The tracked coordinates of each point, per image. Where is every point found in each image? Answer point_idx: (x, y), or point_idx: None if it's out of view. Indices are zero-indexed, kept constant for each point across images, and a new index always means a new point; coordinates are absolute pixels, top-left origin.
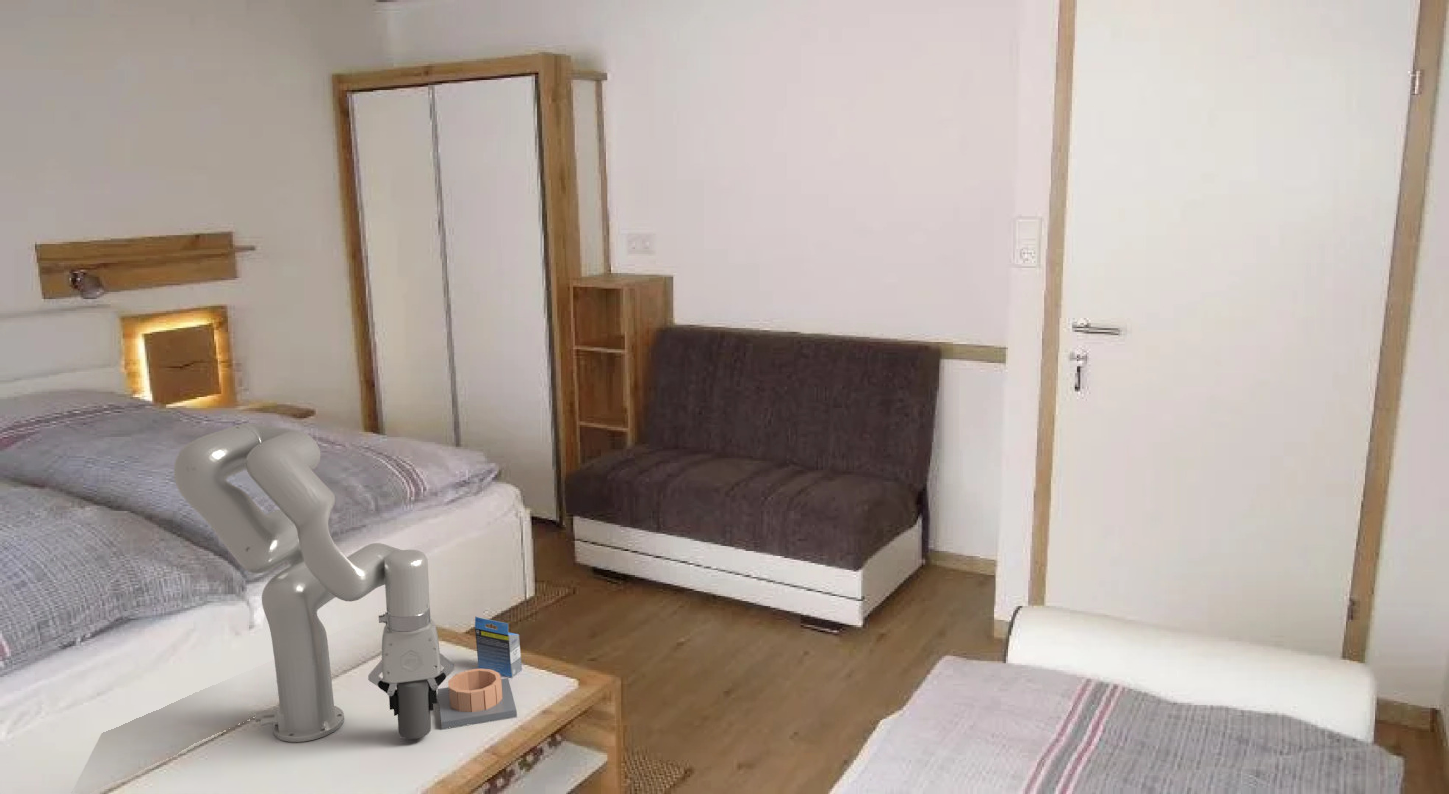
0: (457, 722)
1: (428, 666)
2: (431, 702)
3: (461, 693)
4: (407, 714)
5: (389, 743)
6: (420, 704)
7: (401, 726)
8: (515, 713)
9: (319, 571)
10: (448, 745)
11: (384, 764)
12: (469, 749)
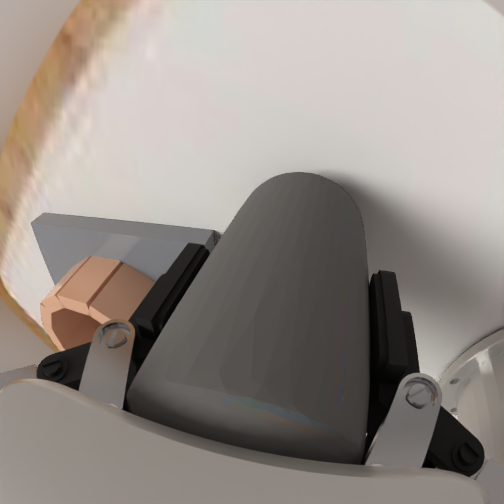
0: (159, 233)
1: (7, 493)
2: (177, 270)
3: (115, 318)
4: (329, 238)
5: (393, 222)
6: (234, 259)
7: (358, 227)
8: (38, 218)
9: None
10: (191, 119)
11: (435, 86)
12: (126, 73)
